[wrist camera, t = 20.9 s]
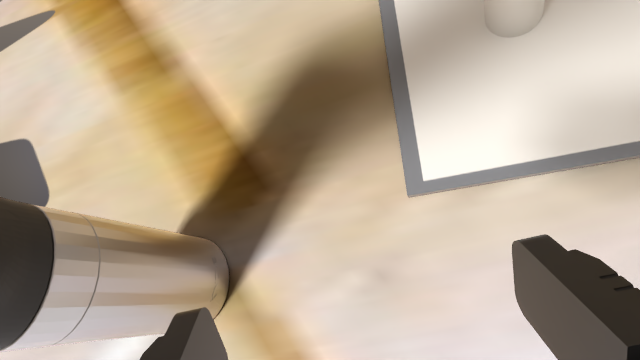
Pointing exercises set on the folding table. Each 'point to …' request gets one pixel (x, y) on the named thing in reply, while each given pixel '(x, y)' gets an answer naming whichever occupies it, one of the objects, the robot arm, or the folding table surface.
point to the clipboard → (511, 90)
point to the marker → (512, 16)
